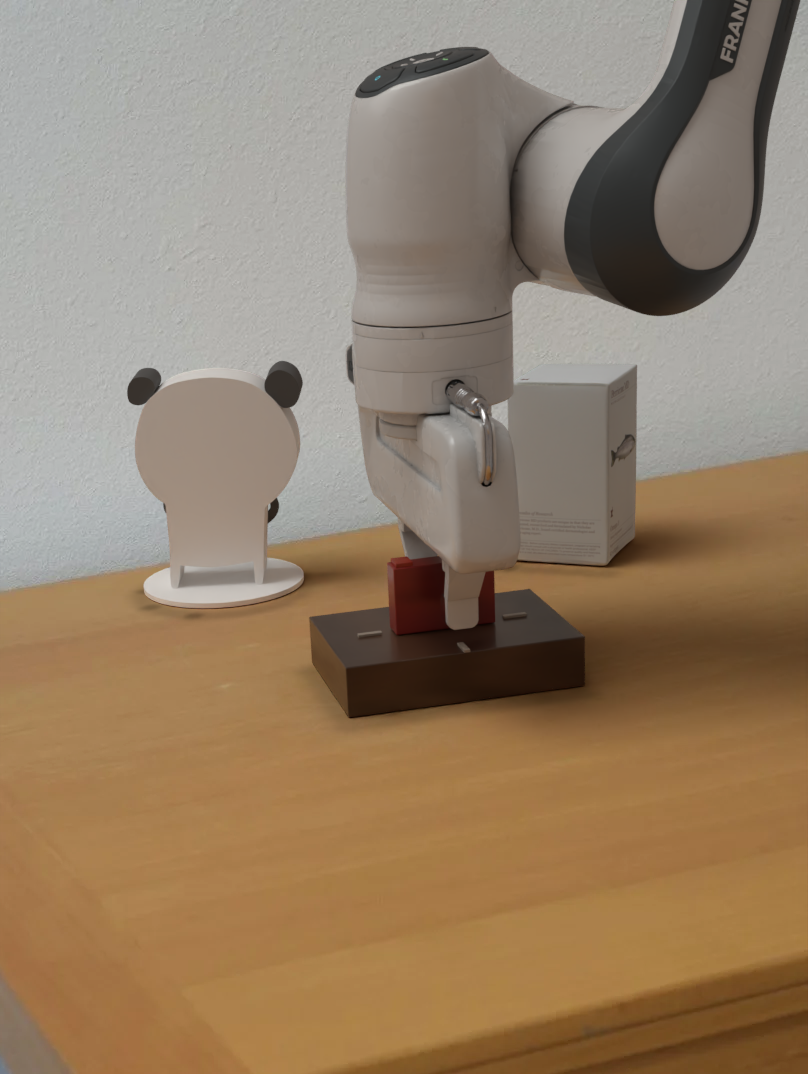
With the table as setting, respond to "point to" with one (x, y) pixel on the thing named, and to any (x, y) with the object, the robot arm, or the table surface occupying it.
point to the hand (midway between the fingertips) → (441, 606)
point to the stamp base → (446, 657)
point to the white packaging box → (575, 461)
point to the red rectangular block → (427, 595)
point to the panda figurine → (218, 479)
